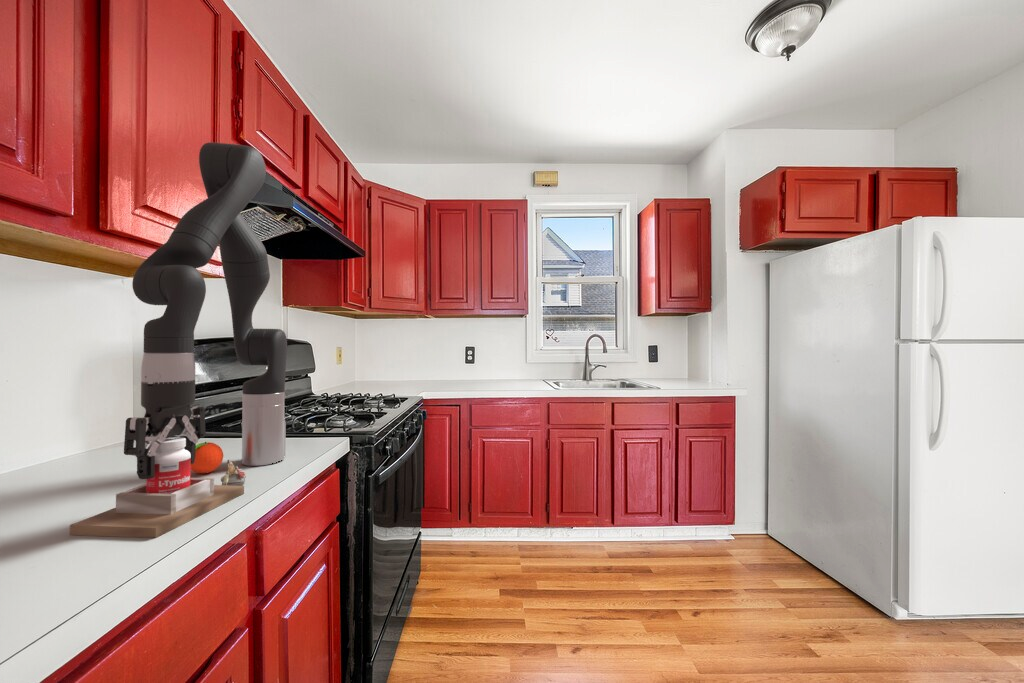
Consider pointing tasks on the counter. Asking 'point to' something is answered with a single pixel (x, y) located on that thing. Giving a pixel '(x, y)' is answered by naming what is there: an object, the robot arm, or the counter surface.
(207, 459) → the clementine
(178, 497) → the bottle holder
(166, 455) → the pill bottle
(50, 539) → the counter surface
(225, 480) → the figurine
